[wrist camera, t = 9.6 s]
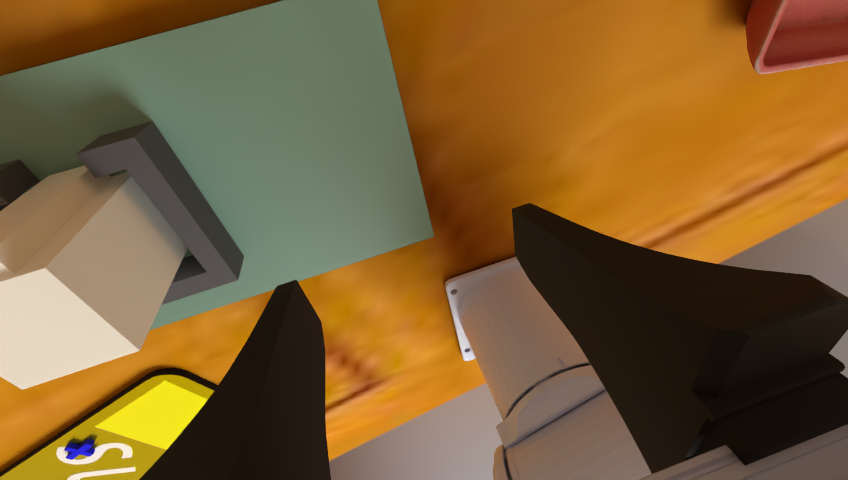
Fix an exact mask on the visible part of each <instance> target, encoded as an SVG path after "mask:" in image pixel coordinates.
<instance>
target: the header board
mask: <svg viewBox="0 0 848 480" xmlns="http://www.w3.org/2000/svg"><path fill="white" fill-rule="evenodd" d="M84 165H85V167H86V168H87V169H88V170H89V171H90V172H91V174H92V175H93V176H94V177H95V178H98V177H101V176H105V175H108V174H109V175H110V176H111V177H112V176H115V175H119V174H122V173H126V172H128V173H129V174H130V175H131V176H132V178H133V179H134V180H135V181H136V183H137V184H138V185H139V187H140V188H141V189H142V190H143V192H144V193H145V194H146V195H147V197H148V198H149V199H150V200H151V202H152V203H153V204H154V206H155V207H156V208H157V209H158V211H159V212H160V213H161V214H162V216H163V217H164V218H165V220H166V221H167V222H168V223H169V225H170V226H171V227H172V228H173V230H174V231H175V232H176V234H177V235H178V236H179V237H180V239H181V240H182V241H183V242H184V244H185V245H186V246H187V248H188V249H187V251H186V253H185V255H184V257H183V259H182V261H181V264H180V266H179V268H178V270H177V272H176V274H175V276H174V279H173V281H172V283H171V285H170V287H169V289H168V291H167V294H166V296H165V298H164V300H163V302H162V304H161V306H160V309H159V311H158V313H157V315H156V317H155V319H154V322H153V324H152V326H151V328H150V330H151V329H155V328H158V327H161V326H164V325H167V324H170V323H173V322H176V321H179V320H182V319H185V318H188V317H191V316H194V315H197V314H200V313H203V312H206V311H209V310H212V309H215V308H218V307H222V306H225V305H228V304H231V303H234V302H237V301H240V300H243V299H246V298H249V297H252V296H255V295H258V294H261V293H264V292H267V291H270V290H273V289H276V287H277V286H278V285H281V284H284V283H287V282H290V281H293V280H297V282H298V281H301V280H304V279H307V278H310V277H313V276H316V275H319V274H322V273H325V272H328V271H331V270H334V269H337V268H340V267H343V266H346V265H349V264H353V263H356V262H359V261H362V260H365V259H368V258H371V257H374V256H377V255H380V254H383V253H386V252H389V251H392V250H395V249H398V248H401V247H404V246H407V245H410V244H413V243H417V242H420V241H423V240H426V239H429V238H432V237H434V233H433V229H432V225H431V221H430V217H429V212H428V208H427V204H426V200H425V196H424V192H423V188H422V184H421V179H420V175H419V171H418V167H417V163H416V159H415V155H414V150H413V146H412V142H411V138H410V134H409V130H408V126H407V122H406V117H405V113H404V109H403V105H402V101H401V97H400V93H399V88H398V84H397V80H396V76H395V72H394V68H393V64H392V60H391V55H390V51H389V47H388V43H387V39H386V35H385V31H384V26H383V22H382V18H381V14H380V10H379V6H378V2H377V0H282V1H278V2H274V3H270V4H267V5H263V6H259V7H256V8H252V9H248V10H244V11H241V12H237V13H233V14H229V15H226V16H222V17H218V18H214V19H211V20H207V21H203V22H200V23H196V24H192V25H188V26H185V27H181V28H177V29H173V30H170V31H166V32H162V33H158V34H155V35H151V36H147V37H144V38H140V39H136V40H132V41H129V42H125V43H121V44H117V45H114V46H110V47H106V48H102V49H99V50H95V51H91V52H88V53H84V54H80V55H76V56H73V57H69V58H65V59H61V60H58V61H54V62H50V63H46V64H43V65H39V66H35V67H32V68H28V69H24V70H20V71H17V72H13V73H9V74H5V75H2V76H0V211H1V210H3V209H4V208H5V207H7V206H8V205H10V204H11V203H12V202H14V201H15V200H16V199H18V198H19V197H20V196H22V195H23V194H25V193H26V192H27V191H29V190H30V189H31V188H33V187H34V186H35V185H37V184H38V183H40V182H41V181H42V180H44V179H45V178H46V177H48V176H50V175H53V174H56V173H60V172H63V171H67V170H70V169H74V168H77V167H81V166H84Z"/></svg>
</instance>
